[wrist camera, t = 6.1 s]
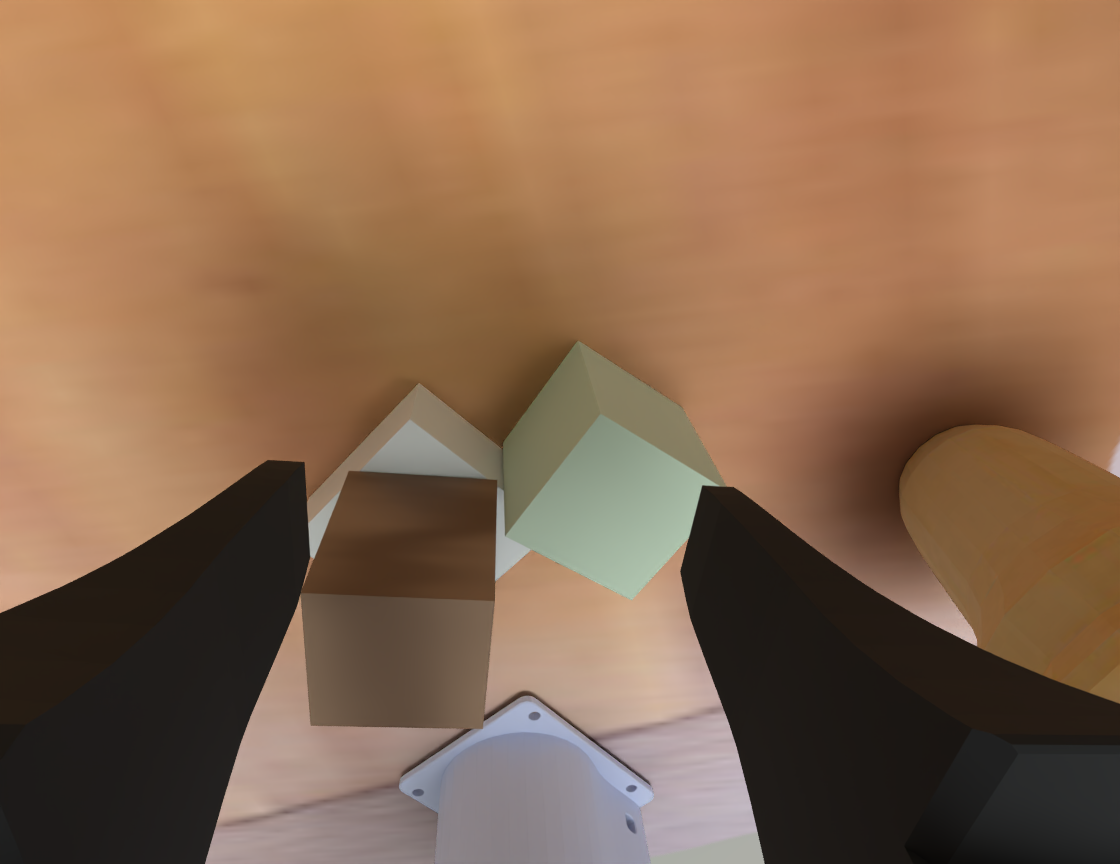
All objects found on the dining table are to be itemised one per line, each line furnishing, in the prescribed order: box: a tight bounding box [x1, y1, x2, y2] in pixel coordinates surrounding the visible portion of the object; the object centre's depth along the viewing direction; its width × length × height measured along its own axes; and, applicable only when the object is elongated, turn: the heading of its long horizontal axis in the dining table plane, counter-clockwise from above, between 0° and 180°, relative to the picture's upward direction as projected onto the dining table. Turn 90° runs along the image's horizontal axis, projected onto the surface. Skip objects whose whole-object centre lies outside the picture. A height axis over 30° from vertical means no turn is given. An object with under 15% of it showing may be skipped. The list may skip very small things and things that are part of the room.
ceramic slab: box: [307, 383, 531, 581], centre depth 23 cm, size 6×6×3 cm
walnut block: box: [301, 471, 497, 729], centre depth 20 cm, size 4×4×6 cm
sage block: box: [503, 341, 727, 600], centre depth 21 cm, size 4×4×6 cm
